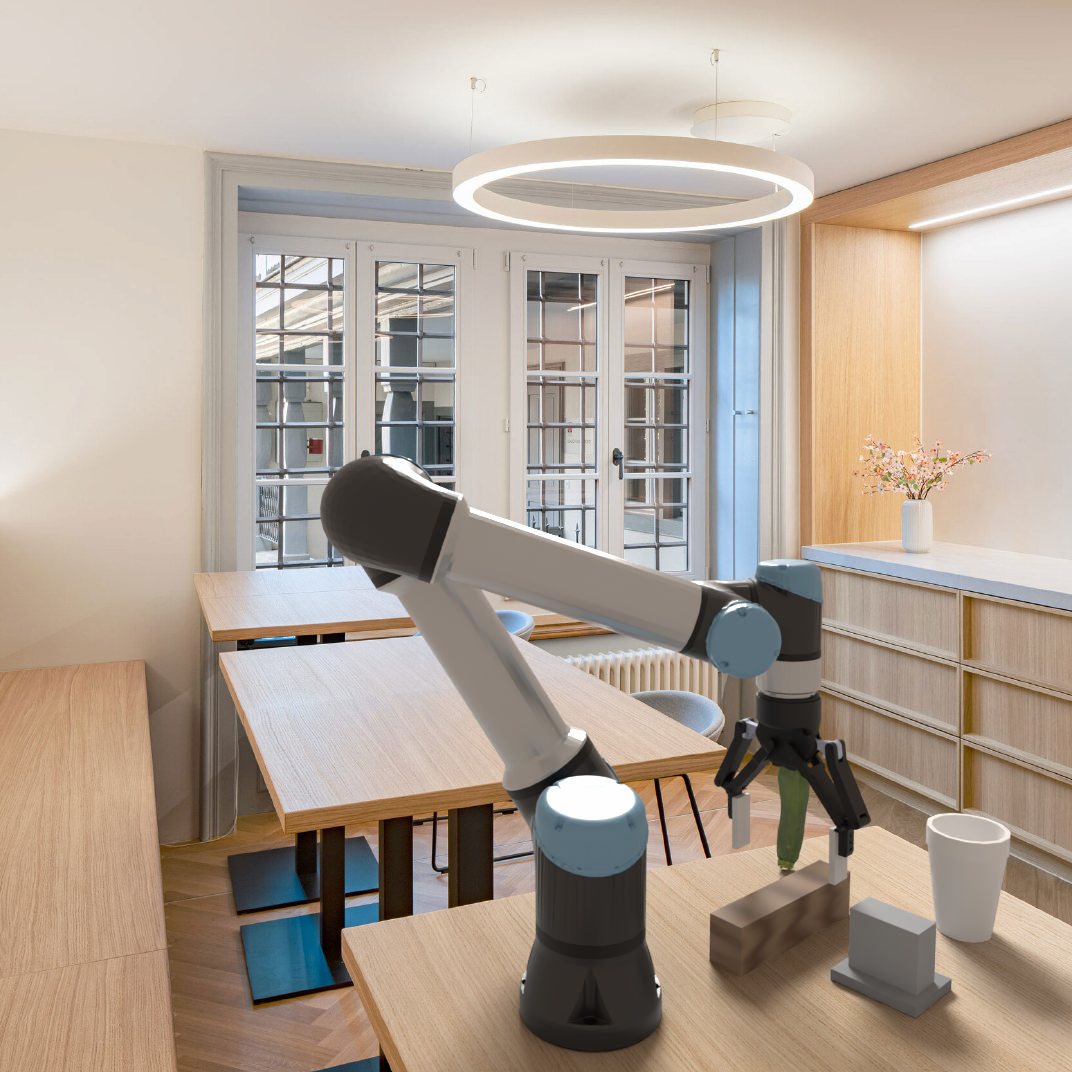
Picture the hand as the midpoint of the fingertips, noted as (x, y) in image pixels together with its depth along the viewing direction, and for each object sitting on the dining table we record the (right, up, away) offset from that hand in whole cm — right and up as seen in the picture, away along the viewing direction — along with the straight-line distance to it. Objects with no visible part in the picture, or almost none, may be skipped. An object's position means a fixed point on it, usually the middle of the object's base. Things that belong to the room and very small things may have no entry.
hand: (787, 862), depth 117 cm
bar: (0, -10, +1) cm, 10 cm away
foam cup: (+22, -9, +2) cm, 24 cm away
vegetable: (+6, -8, +20) cm, 22 cm away
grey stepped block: (+9, -10, -10) cm, 17 cm away
